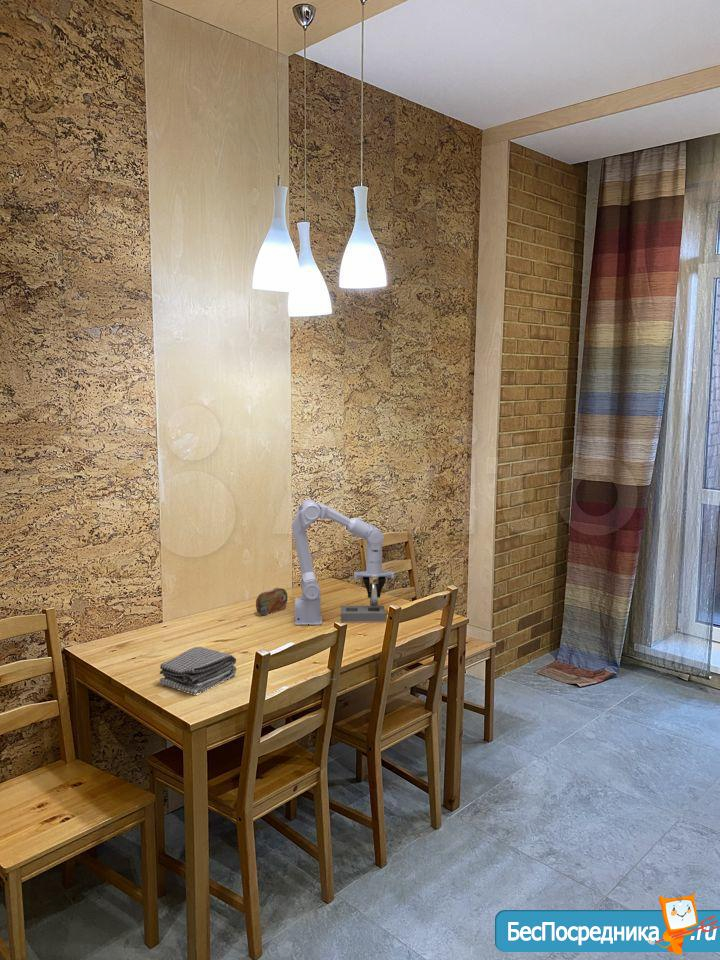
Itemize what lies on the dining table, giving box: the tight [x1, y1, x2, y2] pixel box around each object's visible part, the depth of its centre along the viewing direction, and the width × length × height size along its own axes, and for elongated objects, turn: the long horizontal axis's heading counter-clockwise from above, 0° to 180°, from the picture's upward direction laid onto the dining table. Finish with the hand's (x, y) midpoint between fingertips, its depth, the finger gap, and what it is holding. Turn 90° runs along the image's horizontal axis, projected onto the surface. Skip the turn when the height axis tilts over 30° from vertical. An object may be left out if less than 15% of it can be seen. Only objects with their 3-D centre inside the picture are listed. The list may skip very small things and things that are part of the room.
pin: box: [369, 582, 379, 606], centre depth 275 cm, size 3×3×8 cm
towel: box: [159, 646, 237, 696], centre depth 221 cm, size 15×18×8 cm
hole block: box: [340, 605, 387, 624], centre depth 276 cm, size 16×9×4 cm, turn 92°
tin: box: [255, 587, 288, 616], centre depth 284 cm, size 15×3×8 cm, turn 143°
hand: (373, 597), depth 276 cm, fingers closed on pin, 3 cm apart
